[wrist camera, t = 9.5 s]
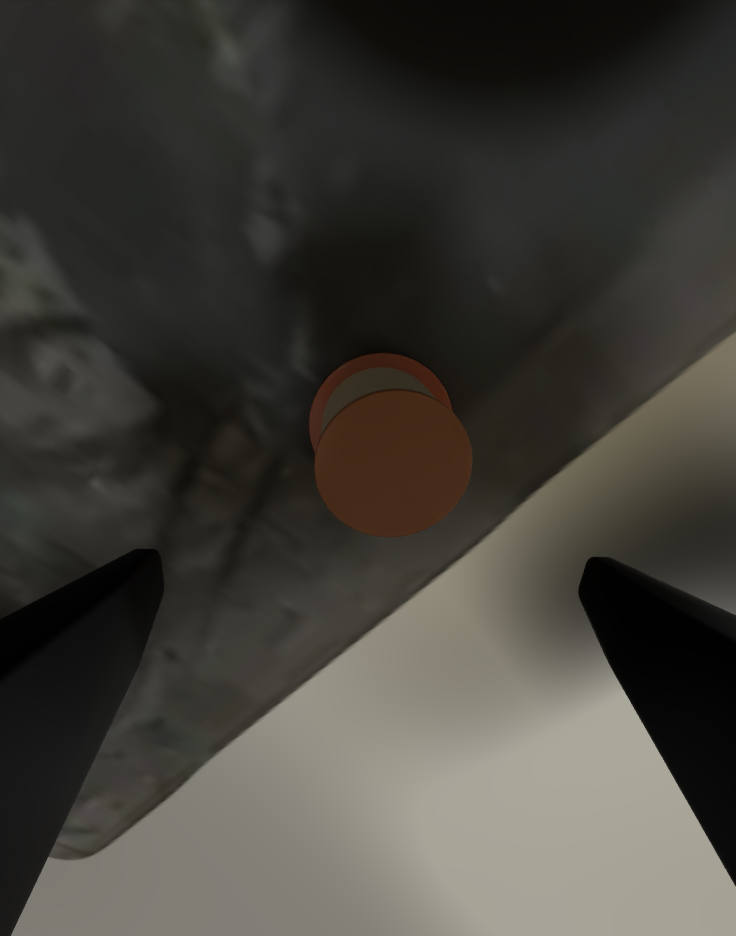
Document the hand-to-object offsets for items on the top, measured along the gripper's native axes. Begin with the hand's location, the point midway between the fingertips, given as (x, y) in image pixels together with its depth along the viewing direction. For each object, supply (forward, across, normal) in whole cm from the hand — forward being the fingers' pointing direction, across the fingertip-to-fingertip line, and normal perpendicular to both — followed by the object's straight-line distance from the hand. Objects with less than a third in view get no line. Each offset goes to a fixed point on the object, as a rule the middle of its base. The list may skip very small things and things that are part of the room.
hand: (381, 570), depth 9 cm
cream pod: (+10, -1, 0) cm, 10 cm away
